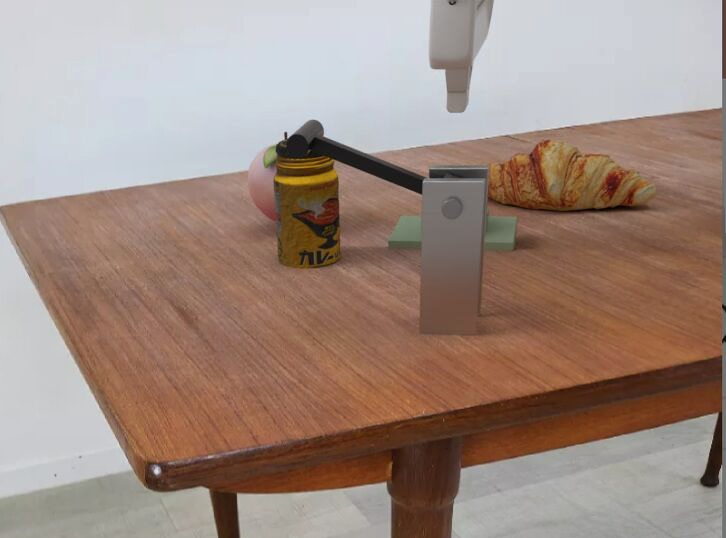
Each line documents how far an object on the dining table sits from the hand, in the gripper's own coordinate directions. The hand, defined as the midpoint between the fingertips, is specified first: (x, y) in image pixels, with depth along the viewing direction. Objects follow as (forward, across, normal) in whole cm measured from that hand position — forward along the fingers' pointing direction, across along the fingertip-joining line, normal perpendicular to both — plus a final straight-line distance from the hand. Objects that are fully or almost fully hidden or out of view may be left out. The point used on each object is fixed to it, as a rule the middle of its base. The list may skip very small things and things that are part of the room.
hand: (457, 110), depth 88 cm
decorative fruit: (+13, +7, +19) cm, 24 cm away
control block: (+13, 0, 0) cm, 13 cm away
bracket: (+13, -24, -2) cm, 27 cm away
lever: (+1, -24, +4) cm, 24 cm away
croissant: (+13, +18, -10) cm, 24 cm away
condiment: (+13, -8, +14) cm, 21 cm away
